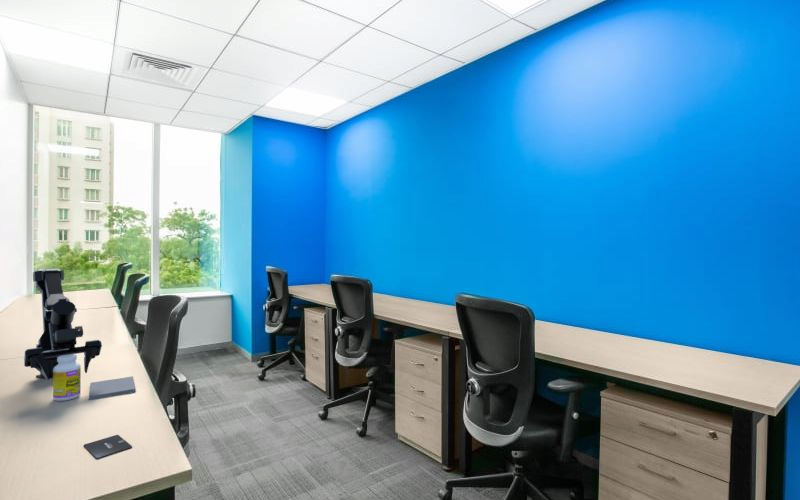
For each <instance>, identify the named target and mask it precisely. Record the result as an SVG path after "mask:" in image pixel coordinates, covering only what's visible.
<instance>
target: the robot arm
mask: <svg viewBox="0 0 800 500" xmlns="http://www.w3.org/2000/svg"><path fill="white" fill-rule="evenodd" d="M64 280H65V271H64V270H62V269H59V268H57V267H56V268H37V270H35V271H33V272H32V281H33V282H34V283H35V288H36V289H37V290H38V292H40V293H41V303H42V305H41V306H42V307H41V308H42V328H43V332H42V334H41V336H40V338H39V339H38V342H37V344H36V345H35V347H34V348H27V349H26V350H25V351H24V355H23V365H24V367H25V368H27V367H28V368H31V369H36V371H38V372H39V373H40V374H37V375H35V378H41V379H42V378H44V379H46V380H47V381H48V380H50V379H51V378H53V368H54V367H55V366H56V365H58V361H57V357H59V356H62V355H69V354H75V355H78V354H83V355H84V357H83V366H84V367H83V368H84V374H87V373H88V369H89V365H90V363H91V361H92V359H95V358H96V357H98V356H100V354H101V350H102V348H103V347H102V346H103V344H102V341H101V340H99V339H94V340H86V341H85V344H84V345H83V346H76V345H77V338H83V335H84V329H83V325H79V326H74V327H72V326H73V325H72V323H73V322H74V316H75V314H76V313H77V307H76V305H75V304H74V302H72V301H70V299H69V297H67V296H65V295H64V290H63V286H62V281H64Z"/></svg>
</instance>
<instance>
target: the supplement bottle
mask: <svg viewBox="0 0 800 500" xmlns="http://www.w3.org/2000/svg"><path fill="white" fill-rule="evenodd" d="M77 355H78V354H69V355H62V356H59V357H57V361H58V365H56V366H55V367H54V368H53V377H52V399H53V400H54V401H56V402H63V401H70V400H74V399H76V398H79V397H80V396H81V386H82V385H81V378H82V377H81V369H82V368H81V364H80V363H79V362H77V361H76V360H77Z"/></svg>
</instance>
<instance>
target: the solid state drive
mask: <svg viewBox="0 0 800 500" xmlns="http://www.w3.org/2000/svg"><path fill="white" fill-rule="evenodd" d="M83 448H85V450H86V451H87V452H88V453H89V454H91V456H92V457H93V458H95V460H100V459H103V458H105V457H109V456H113V455H115V454H118V453H121V452H124V451H127V450H130V449H132V448H133V446H132V444H130V443H129V442H128V441H127V440H126V439H124V438H123V437H121V435H119V434H114V435H111V436H108V437H106V438H105V437H104V438H101V439H98V440H94V441H91V442H88V443H85V444H83Z"/></svg>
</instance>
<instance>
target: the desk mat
mask: <svg viewBox="0 0 800 500" xmlns="http://www.w3.org/2000/svg"><path fill="white" fill-rule="evenodd" d="M136 392H137V391H136V385H135V379H134V376H133V375H132V376H126V377H121V378H120V377H119V378H114V379H113V378H112V379H107V380H100V381H93V382H90V383H89V393H88V401H89V400H96V399H102V398H107V397H114V396H119V395H124V394H131V393H136Z"/></svg>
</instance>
